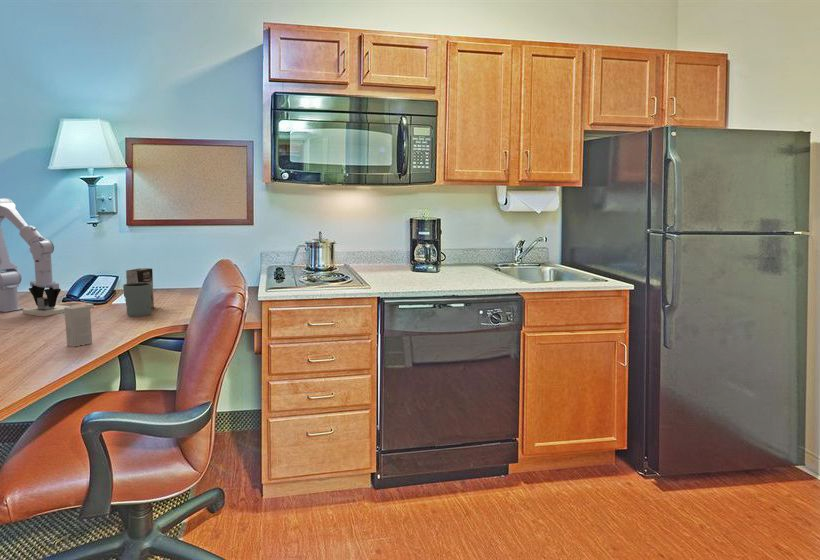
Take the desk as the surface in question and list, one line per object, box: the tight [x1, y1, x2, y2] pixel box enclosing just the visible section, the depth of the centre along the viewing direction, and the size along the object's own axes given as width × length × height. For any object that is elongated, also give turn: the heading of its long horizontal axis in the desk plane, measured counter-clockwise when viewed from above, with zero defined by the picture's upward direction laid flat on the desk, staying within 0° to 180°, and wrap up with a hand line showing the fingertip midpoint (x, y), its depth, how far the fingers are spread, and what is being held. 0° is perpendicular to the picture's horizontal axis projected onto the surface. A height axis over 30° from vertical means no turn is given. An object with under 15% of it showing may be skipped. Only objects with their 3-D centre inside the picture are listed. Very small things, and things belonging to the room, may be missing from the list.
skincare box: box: [64, 305, 93, 348], centre depth 202 cm, size 6×4×12 cm
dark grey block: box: [36, 296, 54, 311], centre depth 254 cm, size 4×4×6 cm
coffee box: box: [125, 267, 155, 309], centre depth 264 cm, size 9×6×16 cm
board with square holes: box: [21, 301, 94, 317], centre depth 259 cm, size 12×22×2 cm, turn 154°
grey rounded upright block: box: [122, 282, 152, 318], centre depth 251 cm, size 10×10×12 cm
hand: (45, 306), depth 254 cm, fingers open, 7 cm apart
